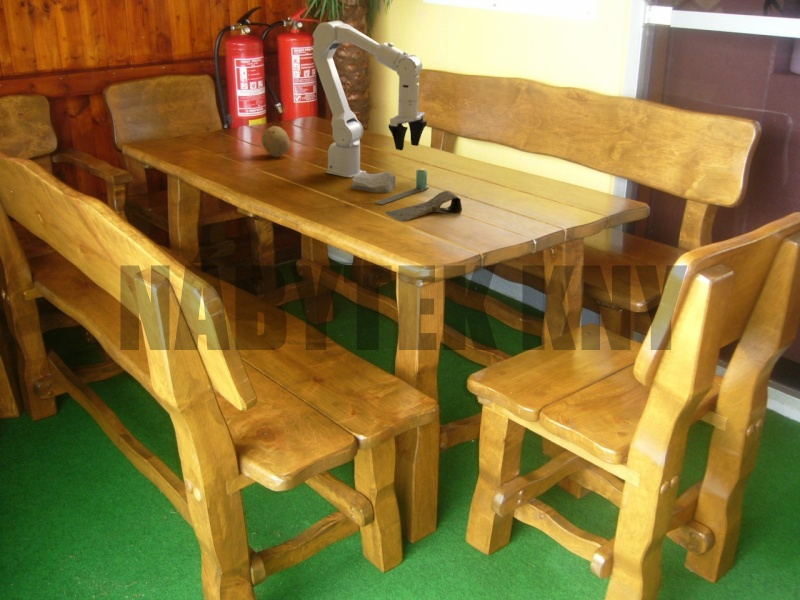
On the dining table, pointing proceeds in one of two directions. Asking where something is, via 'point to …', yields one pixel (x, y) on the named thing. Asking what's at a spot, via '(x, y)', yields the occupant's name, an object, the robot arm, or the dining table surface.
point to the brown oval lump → (276, 141)
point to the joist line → (399, 196)
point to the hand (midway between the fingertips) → (407, 147)
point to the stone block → (374, 182)
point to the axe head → (429, 207)
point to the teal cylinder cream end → (421, 178)
